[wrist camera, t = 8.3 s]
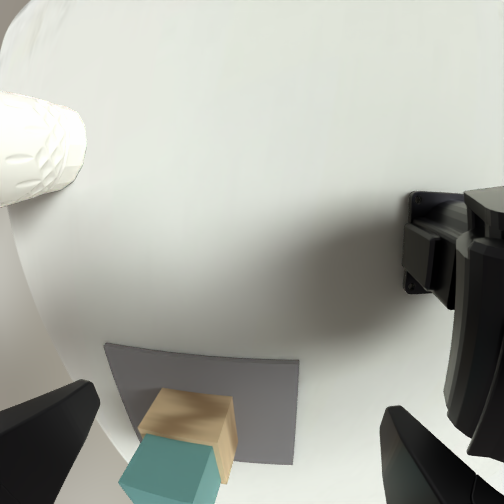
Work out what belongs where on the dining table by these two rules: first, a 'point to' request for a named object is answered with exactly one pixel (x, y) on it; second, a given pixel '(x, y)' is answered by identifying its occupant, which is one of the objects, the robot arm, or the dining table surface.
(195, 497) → the teal cube
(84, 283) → the dining table surface
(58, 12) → the dining table surface
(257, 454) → the build board
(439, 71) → the dining table surface
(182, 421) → the oak base block
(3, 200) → the white cup
